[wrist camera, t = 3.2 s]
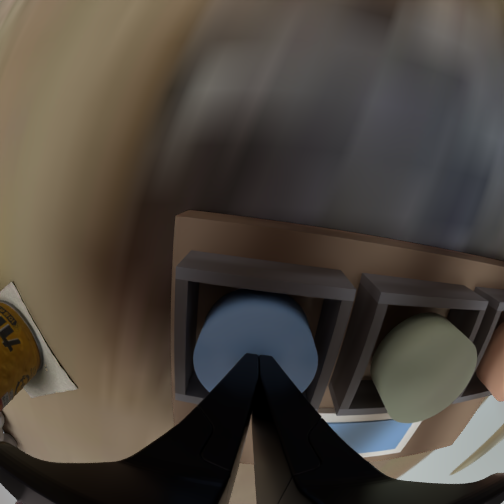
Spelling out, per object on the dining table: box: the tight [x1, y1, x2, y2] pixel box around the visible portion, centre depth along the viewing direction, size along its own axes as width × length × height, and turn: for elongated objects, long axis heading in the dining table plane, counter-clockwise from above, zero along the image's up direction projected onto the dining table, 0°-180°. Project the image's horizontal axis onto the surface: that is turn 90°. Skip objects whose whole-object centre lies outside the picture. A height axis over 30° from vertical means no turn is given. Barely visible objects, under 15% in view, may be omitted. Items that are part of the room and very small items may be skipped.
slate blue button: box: [193, 288, 318, 393], centre depth 10 cm, size 4×4×2 cm
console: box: [171, 210, 504, 464], centre depth 12 cm, size 20×14×4 cm
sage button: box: [370, 312, 477, 423], centre depth 9 cm, size 4×4×2 cm
